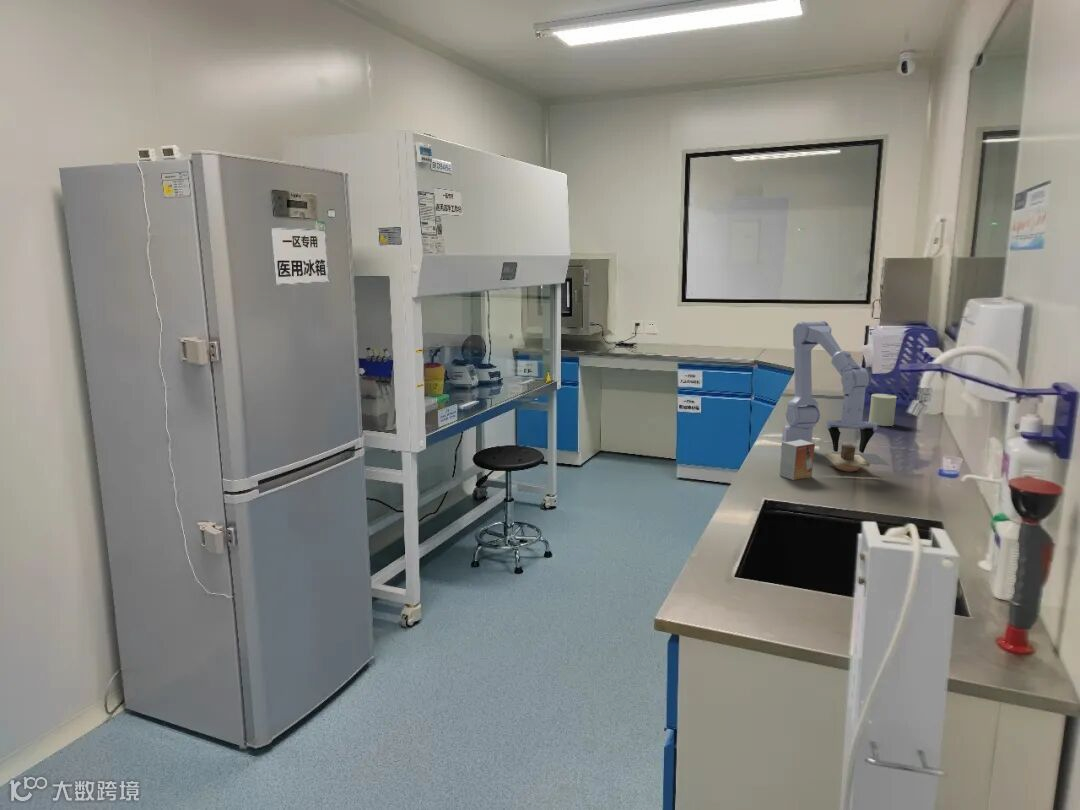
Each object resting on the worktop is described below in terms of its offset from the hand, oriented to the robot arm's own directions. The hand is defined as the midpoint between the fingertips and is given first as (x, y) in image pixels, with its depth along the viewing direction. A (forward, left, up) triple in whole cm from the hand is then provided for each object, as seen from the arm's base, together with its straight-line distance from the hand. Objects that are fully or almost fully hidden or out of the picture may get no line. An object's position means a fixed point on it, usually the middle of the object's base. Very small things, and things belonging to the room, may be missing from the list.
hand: (848, 451), depth 212 cm
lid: (0, 0, -3) cm, 3 cm away
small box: (-17, -8, -6) cm, 20 cm away
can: (+33, +67, -6) cm, 75 cm away
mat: (+8, +13, -6) cm, 16 cm away
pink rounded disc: (0, 0, -6) cm, 6 cm away
